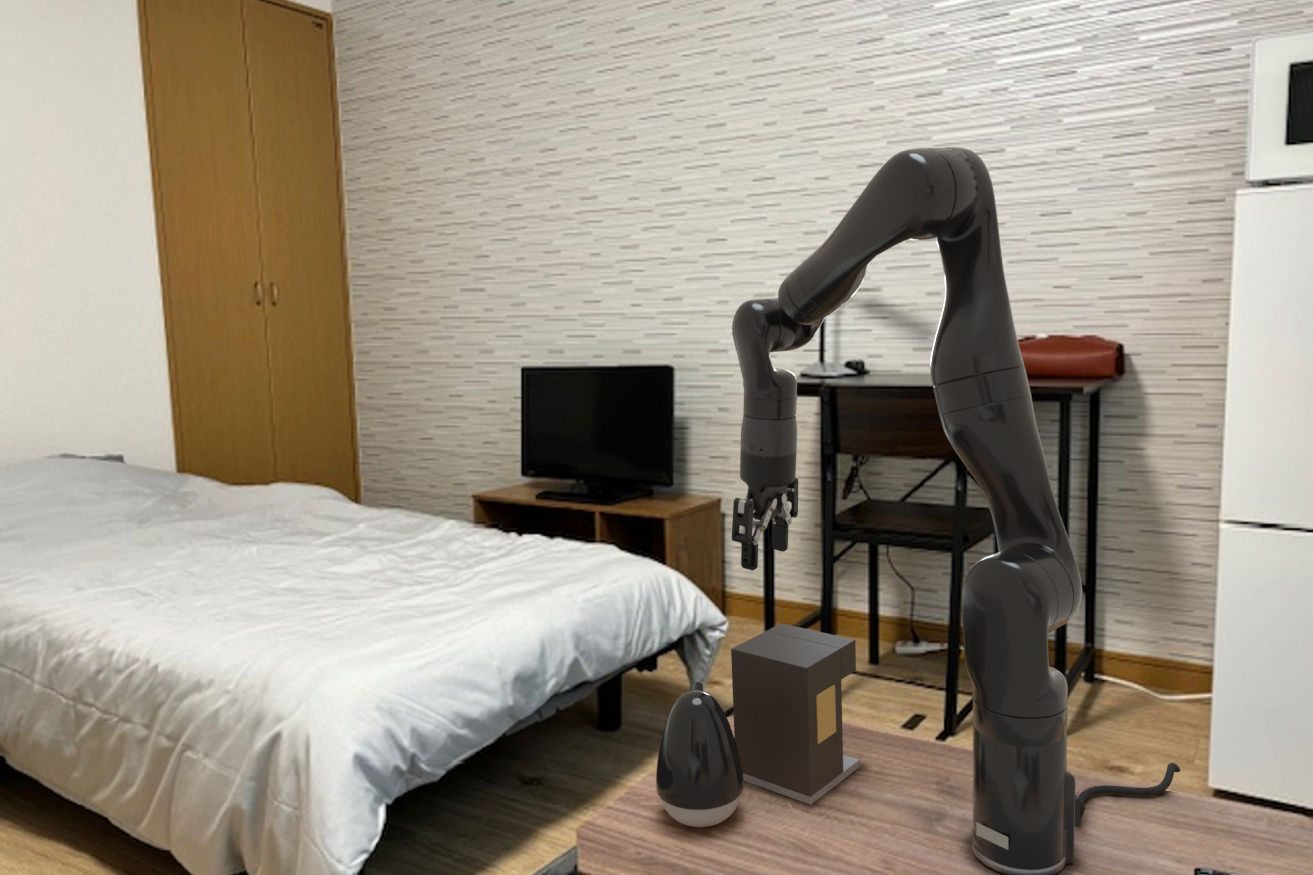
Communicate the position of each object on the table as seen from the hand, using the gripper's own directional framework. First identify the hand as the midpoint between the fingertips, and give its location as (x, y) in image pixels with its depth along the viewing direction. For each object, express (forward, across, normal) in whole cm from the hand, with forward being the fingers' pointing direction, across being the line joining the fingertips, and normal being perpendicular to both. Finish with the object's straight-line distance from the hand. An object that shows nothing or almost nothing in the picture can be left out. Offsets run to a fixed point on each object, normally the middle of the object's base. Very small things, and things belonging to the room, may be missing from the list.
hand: (764, 558), depth 137 cm
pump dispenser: (+21, -29, -8) cm, 36 cm away
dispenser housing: (+21, -14, -14) cm, 29 cm away
